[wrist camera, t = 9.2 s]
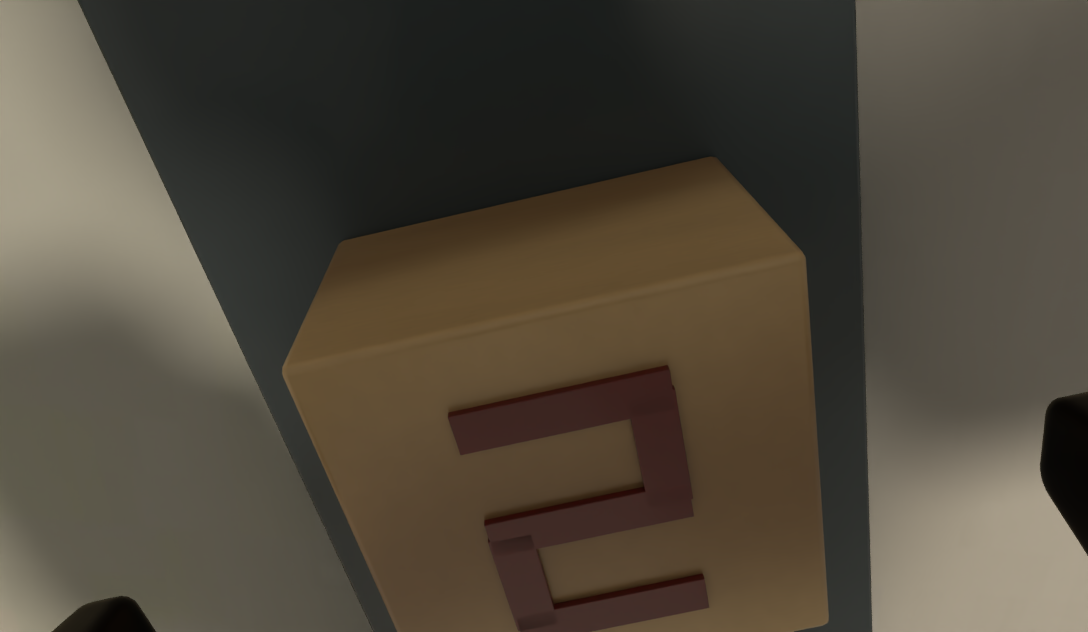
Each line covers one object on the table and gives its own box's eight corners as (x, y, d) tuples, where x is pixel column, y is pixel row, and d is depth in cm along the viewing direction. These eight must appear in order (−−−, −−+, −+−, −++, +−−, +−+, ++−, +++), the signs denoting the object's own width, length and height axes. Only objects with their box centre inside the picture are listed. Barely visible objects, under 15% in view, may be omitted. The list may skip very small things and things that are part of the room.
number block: (337, 239, 9) (272, 376, 7) (716, 152, 9) (813, 256, 6) (441, 522, 11) (427, 714, 9) (751, 458, 11) (835, 633, 8)
